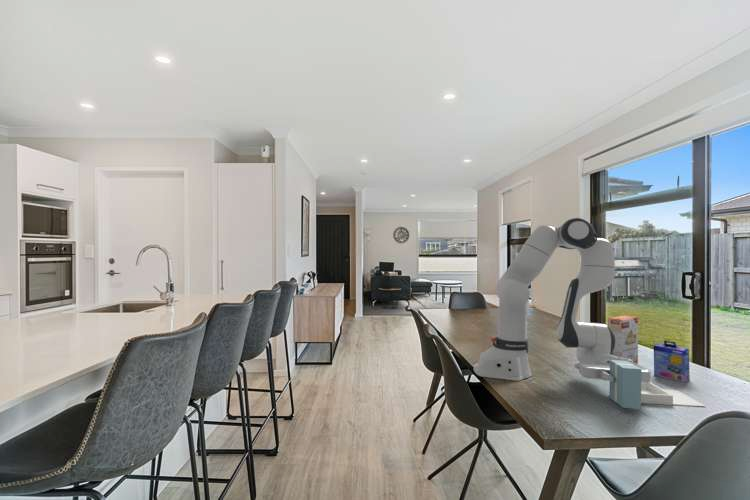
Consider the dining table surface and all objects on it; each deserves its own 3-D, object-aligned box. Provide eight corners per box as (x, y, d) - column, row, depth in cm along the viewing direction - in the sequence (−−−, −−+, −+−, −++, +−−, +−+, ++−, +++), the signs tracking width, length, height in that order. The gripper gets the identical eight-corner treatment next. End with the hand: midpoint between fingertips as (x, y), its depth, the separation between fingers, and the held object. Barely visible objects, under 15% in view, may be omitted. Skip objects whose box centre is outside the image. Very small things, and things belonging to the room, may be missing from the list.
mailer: (638, 402, 112) (638, 393, 112) (617, 387, 125) (617, 379, 125) (705, 407, 108) (705, 397, 108) (677, 390, 121) (676, 382, 121)
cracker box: (623, 369, 144) (622, 319, 144) (607, 365, 149) (606, 317, 149) (639, 364, 151) (638, 316, 151) (624, 360, 156) (623, 314, 156)
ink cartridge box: (653, 375, 137) (652, 339, 137) (658, 372, 140) (657, 337, 140) (685, 382, 129) (684, 344, 129) (690, 379, 132) (689, 342, 132)
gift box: (622, 407, 104) (622, 367, 104) (609, 396, 112) (609, 359, 112) (641, 409, 103) (641, 369, 103) (626, 398, 111) (627, 360, 111)
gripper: (572, 355, 123) (589, 368, 109) (636, 359, 119) (661, 372, 105) (572, 372, 123) (589, 387, 109) (635, 377, 119) (661, 393, 105)
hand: (625, 380), depth 107 cm, fingers closed on gift box, 5 cm apart
